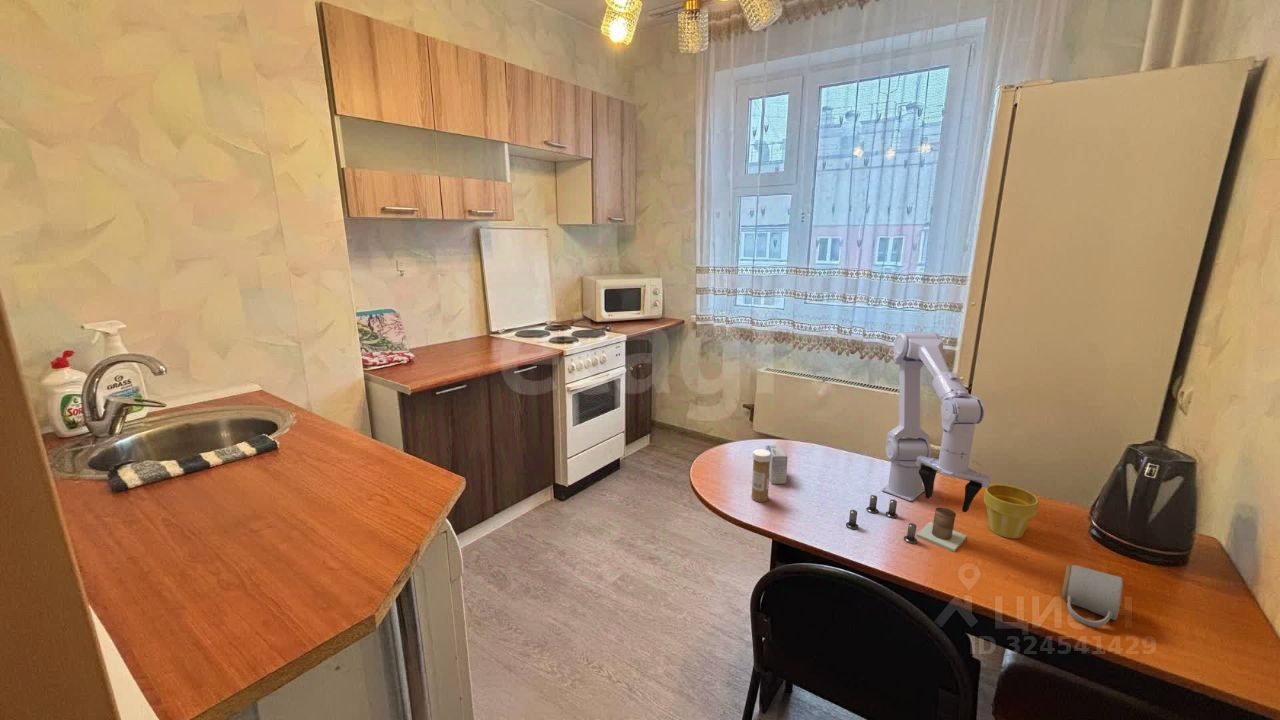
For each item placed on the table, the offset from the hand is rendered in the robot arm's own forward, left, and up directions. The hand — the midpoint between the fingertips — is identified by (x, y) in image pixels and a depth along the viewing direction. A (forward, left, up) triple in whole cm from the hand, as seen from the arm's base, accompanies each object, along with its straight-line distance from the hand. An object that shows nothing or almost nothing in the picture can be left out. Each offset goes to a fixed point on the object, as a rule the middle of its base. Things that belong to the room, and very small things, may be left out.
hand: (946, 503), depth 117 cm
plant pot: (-14, +9, -9) cm, 19 cm away
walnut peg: (0, 0, -8) cm, 8 cm away
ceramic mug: (+5, +27, -9) cm, 29 cm away
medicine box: (+4, -43, -9) cm, 44 cm away
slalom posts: (+5, -10, -9) cm, 14 cm away
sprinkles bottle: (+17, -39, -9) cm, 43 cm away
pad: (0, 0, -9) cm, 9 cm away
